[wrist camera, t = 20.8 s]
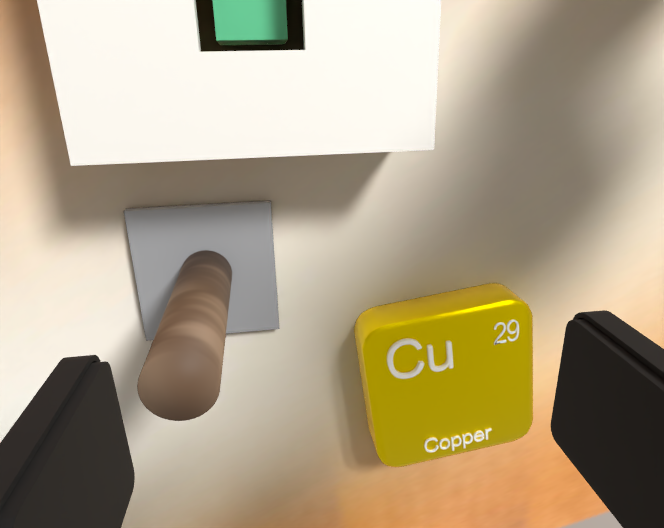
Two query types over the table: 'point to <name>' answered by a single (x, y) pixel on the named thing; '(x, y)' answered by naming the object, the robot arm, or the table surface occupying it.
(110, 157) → the box
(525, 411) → the element tile
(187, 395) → the dowel
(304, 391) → the table surface
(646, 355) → the robot arm
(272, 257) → the rubber mat
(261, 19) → the breaker button
